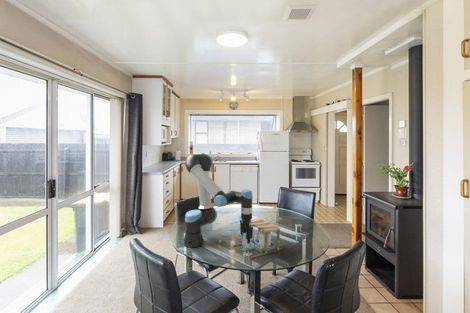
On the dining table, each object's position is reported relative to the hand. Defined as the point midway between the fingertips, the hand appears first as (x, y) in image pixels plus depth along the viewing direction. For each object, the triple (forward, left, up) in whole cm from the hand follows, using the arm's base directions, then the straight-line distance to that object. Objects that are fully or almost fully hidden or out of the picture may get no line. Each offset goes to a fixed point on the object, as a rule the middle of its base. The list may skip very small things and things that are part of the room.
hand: (246, 246), depth 179 cm
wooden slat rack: (0, +10, -3) cm, 11 cm away
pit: (0, +27, -3) cm, 27 cm away
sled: (0, +10, -3) cm, 10 cm away
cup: (0, +14, -3) cm, 14 cm away
